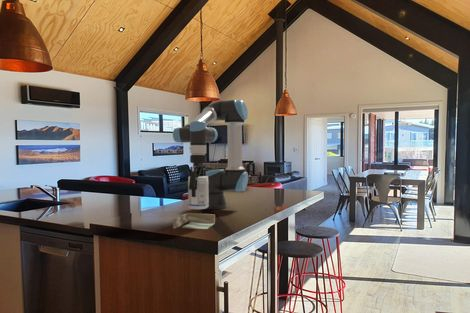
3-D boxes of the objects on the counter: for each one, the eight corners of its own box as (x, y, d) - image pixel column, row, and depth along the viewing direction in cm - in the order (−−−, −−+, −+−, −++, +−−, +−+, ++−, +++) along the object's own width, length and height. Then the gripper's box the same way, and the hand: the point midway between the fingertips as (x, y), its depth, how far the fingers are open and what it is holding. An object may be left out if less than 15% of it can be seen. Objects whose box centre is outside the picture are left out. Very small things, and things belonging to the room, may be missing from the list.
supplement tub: (195, 205, 162) (194, 175, 161) (212, 207, 158) (212, 176, 157) (184, 208, 153) (183, 177, 152) (202, 210, 149) (201, 177, 149)
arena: (186, 221, 166) (186, 213, 166) (216, 222, 162) (216, 214, 162) (172, 228, 151) (172, 219, 151) (205, 230, 147) (205, 221, 147)
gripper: (199, 154, 166) (199, 198, 167) (181, 154, 145) (181, 205, 145) (213, 154, 164) (213, 199, 165) (197, 154, 143) (197, 206, 143)
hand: (198, 202), depth 155 cm, fingers closed on supplement tub, 9 cm apart
